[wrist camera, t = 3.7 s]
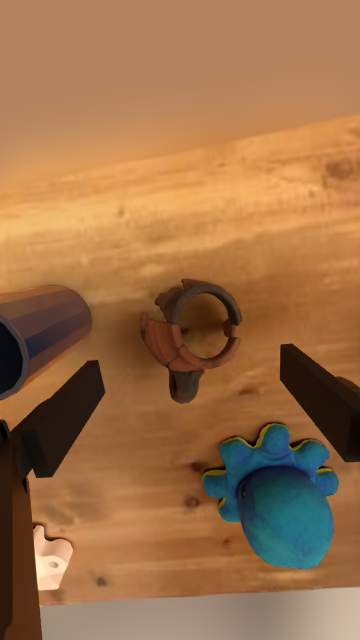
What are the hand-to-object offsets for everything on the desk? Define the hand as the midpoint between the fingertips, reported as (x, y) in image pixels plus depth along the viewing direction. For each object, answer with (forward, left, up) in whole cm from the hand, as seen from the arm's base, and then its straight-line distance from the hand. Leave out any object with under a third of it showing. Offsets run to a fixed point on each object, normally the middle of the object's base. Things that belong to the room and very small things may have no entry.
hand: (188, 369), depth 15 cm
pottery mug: (0, 0, -9) cm, 9 cm away
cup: (-14, +3, -9) cm, 17 cm away
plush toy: (+9, -22, -9) cm, 25 cm away
